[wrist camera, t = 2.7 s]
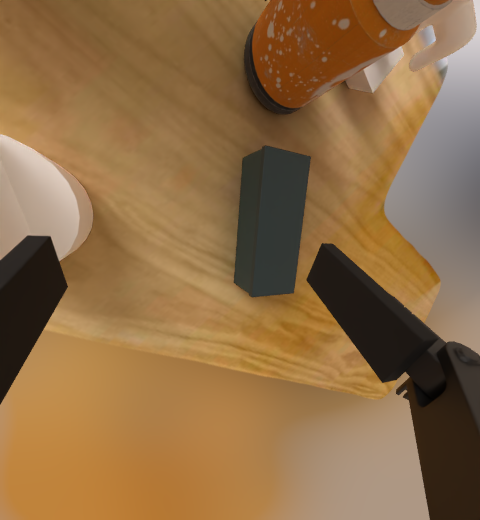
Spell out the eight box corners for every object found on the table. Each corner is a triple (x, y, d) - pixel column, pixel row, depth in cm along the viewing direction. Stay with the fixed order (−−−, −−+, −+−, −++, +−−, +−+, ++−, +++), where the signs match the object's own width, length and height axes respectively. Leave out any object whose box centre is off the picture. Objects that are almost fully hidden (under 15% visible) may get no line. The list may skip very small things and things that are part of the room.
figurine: (350, 112, 31) (514, 39, 18) (317, 41, 27) (500, -126, 13) (378, 78, 32) (554, -16, 19) (351, 4, 27) (553, -187, 14)
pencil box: (241, 156, 25) (265, 145, 21) (282, 165, 28) (311, 156, 23) (232, 283, 28) (251, 297, 24) (270, 281, 31) (294, 293, 26)
